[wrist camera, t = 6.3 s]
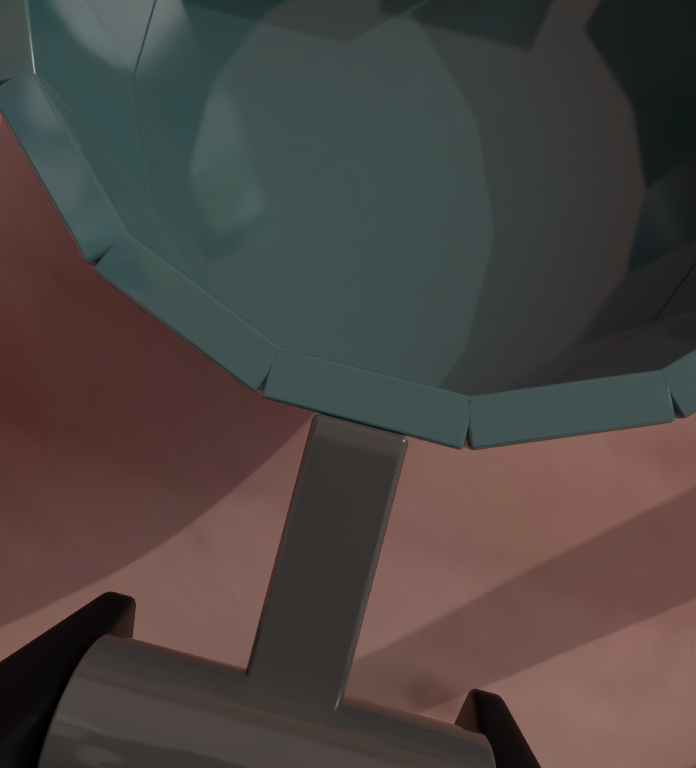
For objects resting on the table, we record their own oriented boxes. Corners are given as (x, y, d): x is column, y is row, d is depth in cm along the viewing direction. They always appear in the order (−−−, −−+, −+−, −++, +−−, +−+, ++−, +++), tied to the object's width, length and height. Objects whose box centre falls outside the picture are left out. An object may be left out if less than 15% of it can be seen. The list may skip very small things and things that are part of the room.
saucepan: (621, 741, 13) (905, 1085, 6) (-26, 569, 13) (-407, 728, 6) (820, -113, 13) (1253, -594, 7) (211, -263, 14) (89, -866, 7)
